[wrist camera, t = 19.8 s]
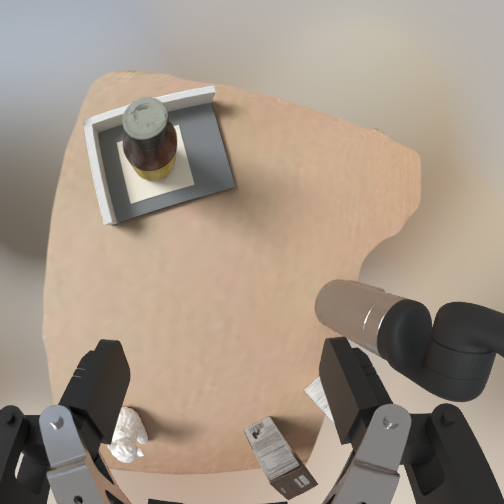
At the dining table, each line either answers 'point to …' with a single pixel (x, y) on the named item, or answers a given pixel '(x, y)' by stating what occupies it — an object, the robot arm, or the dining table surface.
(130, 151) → the sauce bottle
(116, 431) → the sitting furry creature
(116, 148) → the grey tray
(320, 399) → the syrup box
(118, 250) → the dining table surface
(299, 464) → the coffee box
